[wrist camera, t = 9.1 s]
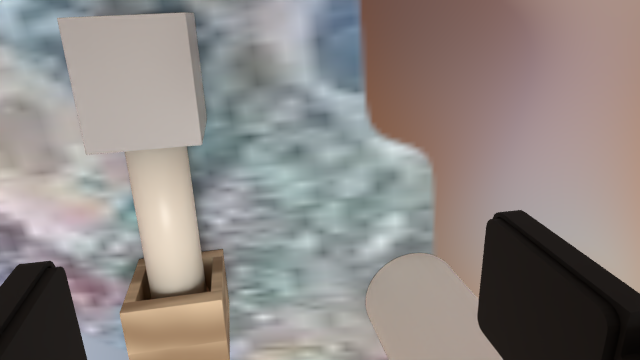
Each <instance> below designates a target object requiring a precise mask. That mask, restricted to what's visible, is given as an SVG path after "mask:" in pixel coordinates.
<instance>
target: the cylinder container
mask: <svg viewBox="0 0 640 360" xmlns="http://www.w3.org/2000/svg"><path fill="white" fill-rule="evenodd" d="M478 303H479V299H478V298H477V297H476V296H475V294H473V292H472V291H471V290H470V289H469V288H468V287H467V285H466V284H465V283H464V282H463V281H462V280H461V279H460V277H458V275H457V274H456V273H455V272H454V271H453V270H452V268H451V267H450V266H449V265H448V264H447V263H446V262H445V261H443V260H442V259H441V258H439V257H437V256H434V255H431V254H426V253H413V254H407V255H404V256H401V257H398V258H396V259H394V260H392V261H391V262H389V263H388V264H386V265H385V266H384V267H383V268H382V269H380V270H379V272H378V273H377V274H376V275H375V276H374V278H373V279H372V281H371V283H370V285H369V287H368V290H367V294H366V310H367V314H368V316H369V319H370V321H371V323H372V325H373V327H374V329H375V331H376V333H377V336H378V338H379V340H380V342H381V344H382V346H383V348H384V351H385V353H386V355H387V357H388V359H389V360H503V359H502V357H501V356H500V355H499V353H498V352H497V351H496V349H495V348H494V347H493V346H492V344H491V343H490V342H489V340H488V339H487V338H486V336H485V335H484V334H483V333H482V331H481V329H480V327H479V324H478V319H477V313H478Z"/></svg>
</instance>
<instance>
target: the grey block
mask: <svg viewBox="0 0 640 360" xmlns="http://www.w3.org/2000/svg"><path fill="white" fill-rule="evenodd" d="M57 20H58V24H59V29H60V34H61V39H62V43H63V48H64V53H65V58H66V62H67V67H68V72H69V77H70V81H71V86H72V91H73V95H74V100H75V105H76V110H77V114H78V119H79V124H80V129H81V133H82V138H83V143H84V148H85V152H86V155H90V154H102V153H114V152H125V151H137V150H149V149H161V148H173V147H184V146H196V145H202V143H203V137H204V132H205V127H206V122H207V116H206V107H205V99H204V91H203V83H202V74H201V66H200V58H199V50H198V41H197V33H196V25H195V17H194V13H163V14H139V15H116V16H93V17H69V18H57Z"/></svg>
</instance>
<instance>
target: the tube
mask: <svg viewBox="0 0 640 360" xmlns="http://www.w3.org/2000/svg"><path fill="white" fill-rule="evenodd" d="M125 156H126V162H127V167H128V172H129V178H130V183H131V189H132V194H133V200H134V205H135V211H136V216H137V222H138V227H139V233H140V238H141V243H142V249H143V254H144V260H145V265H146V271H147V276H148V282H149V287H150V293H151V299H159V298H166V297H174V296H181V295H189V294H197V293H204V292H209V289H208V287H207V286H206V282H205V275H204V267H203V260H202V253H201V246H200V238H199V231H198V224H197V217H196V209H195V202H194V195H193V188H192V180H191V173H190V166H189V159H188V152H187V146H184V147H173V148H161V149H149V150H137V151H125ZM151 299H150V300H151Z"/></svg>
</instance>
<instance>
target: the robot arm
mask: <svg viewBox="0 0 640 360" xmlns="http://www.w3.org/2000/svg"><path fill="white" fill-rule="evenodd" d="M477 319H478V324H479V327H480V329H481V331H482V333H483V334H484V335H485V336H486V338H487V339H488V340H489V342H490V343H491V344H492V346H493V347H494V348H495V349H496V351H497V352H498V353H499V355H500V356H501V357H502V359H503V360H640V294H639V293H638V292H636V291H635V290H634V289H632V288H631V287H629V286H628V285H627V284H625V283H624V282H622V281H621V280H620V279H618V278H617V277H615V276H614V275H612V274H611V273H610V272H608V271H607V270H606V269H604V268H603V267H601V266H600V265H599V264H597V263H596V262H594V261H593V260H591V259H590V258H589V257H587V256H586V255H584V254H583V253H582V252H580V251H579V250H577V249H576V248H575V247H573V246H572V245H570V244H569V243H567V242H566V241H565V240H563V239H562V238H560V237H559V236H558V235H556V234H555V233H553V232H552V231H551V230H549V229H548V228H546V227H545V226H544V225H542V224H541V223H539V222H538V221H537V220H535V219H534V218H532V217H531V216H529V215H528V214H527V213H525V212H524V211H522V210H518V211H508V212H498V213H496V214H495V215H494V217H493V219H490V220H489V221H488V223H487V226H486V235H485V244H484V255H483V264H482V275H481V283H480V293H479V303H478V313H477ZM0 360H87V357H86V353H85V349H84V345H83V341H82V337H81V333H80V329H79V325H78V321H77V317H76V313H75V309H74V305H73V301H72V297H71V293H70V289H69V285H68V281H67V277H66V273H65V270H64V269H63V268H62V267H55V265H54V264H53V262H51V261H44V262H35V263H26V264H19V265H18V266H17V267H16V268H15V269H14V270H13V271H12V273H11V274H10V275H9V276H8V278H7V279H6V280H5V281H4V283H3V284H2V285H1V286H0Z"/></svg>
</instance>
